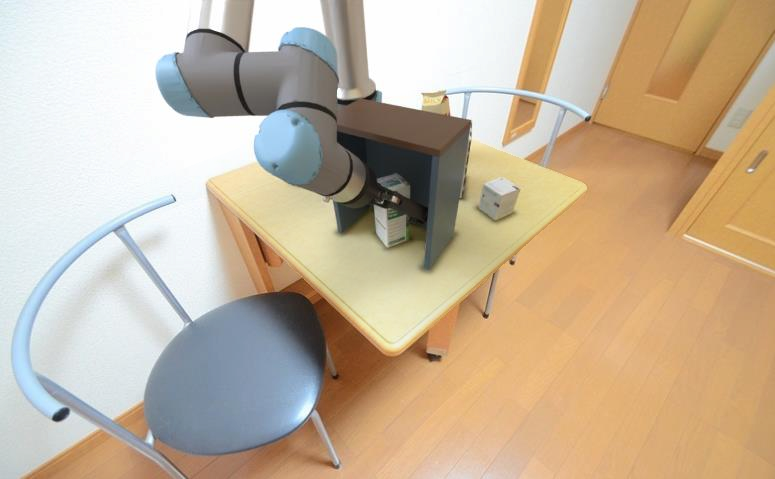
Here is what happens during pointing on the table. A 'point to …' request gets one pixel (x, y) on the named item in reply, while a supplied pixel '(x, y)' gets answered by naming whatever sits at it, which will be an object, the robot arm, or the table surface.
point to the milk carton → (436, 103)
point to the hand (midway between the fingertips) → (396, 207)
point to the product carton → (498, 198)
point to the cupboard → (409, 161)
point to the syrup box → (393, 213)
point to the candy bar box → (466, 162)
